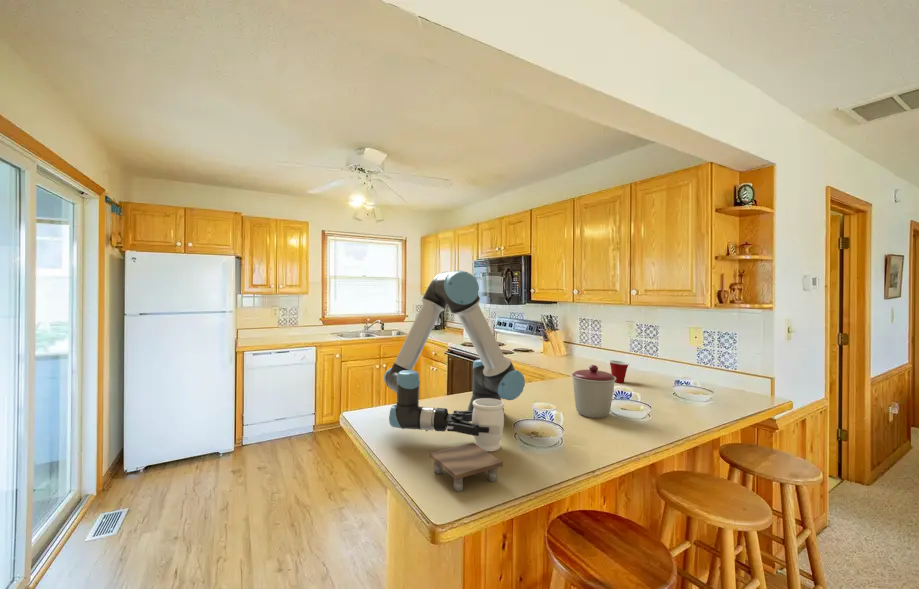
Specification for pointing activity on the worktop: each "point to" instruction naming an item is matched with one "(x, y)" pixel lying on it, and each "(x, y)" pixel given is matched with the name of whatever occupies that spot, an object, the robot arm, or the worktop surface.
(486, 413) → the jar
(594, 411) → the canister
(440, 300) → the robot arm
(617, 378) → the plastic cup
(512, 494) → the worktop surface
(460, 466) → the wooden trivet stand
